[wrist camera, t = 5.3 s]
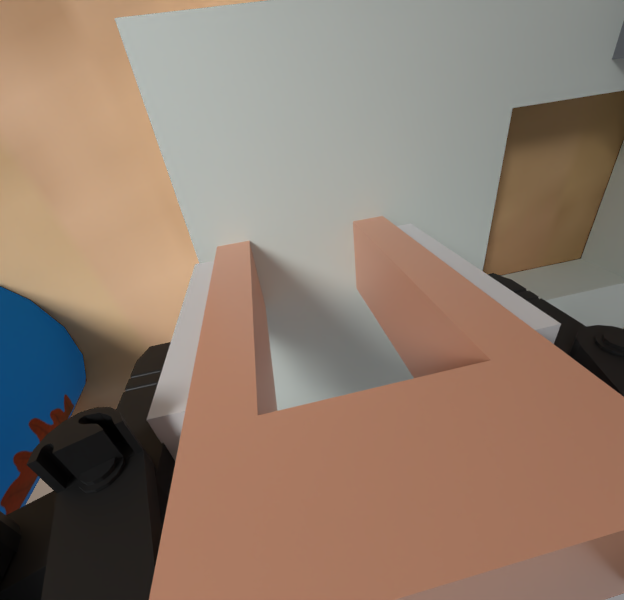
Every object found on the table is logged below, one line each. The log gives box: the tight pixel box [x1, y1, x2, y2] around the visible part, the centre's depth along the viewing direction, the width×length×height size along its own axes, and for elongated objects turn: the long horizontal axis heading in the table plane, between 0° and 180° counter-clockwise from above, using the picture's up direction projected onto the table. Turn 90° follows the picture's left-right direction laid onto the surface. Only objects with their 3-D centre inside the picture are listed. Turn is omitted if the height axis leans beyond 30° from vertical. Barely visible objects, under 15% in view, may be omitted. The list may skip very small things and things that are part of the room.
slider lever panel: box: [115, 0, 624, 411], centre depth 11 cm, size 22×16×12 cm
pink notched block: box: [149, 216, 624, 600], centre depth 8 cm, size 6×3×10 cm, turn 97°
